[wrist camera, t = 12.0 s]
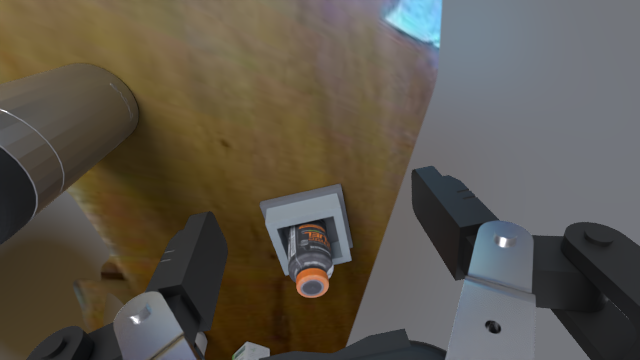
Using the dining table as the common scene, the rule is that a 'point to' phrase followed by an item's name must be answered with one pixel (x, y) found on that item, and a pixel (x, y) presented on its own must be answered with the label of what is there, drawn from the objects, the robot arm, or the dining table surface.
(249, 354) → the syrup box
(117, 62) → the dining table surface
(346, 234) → the holder
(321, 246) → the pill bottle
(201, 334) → the energy drink can
